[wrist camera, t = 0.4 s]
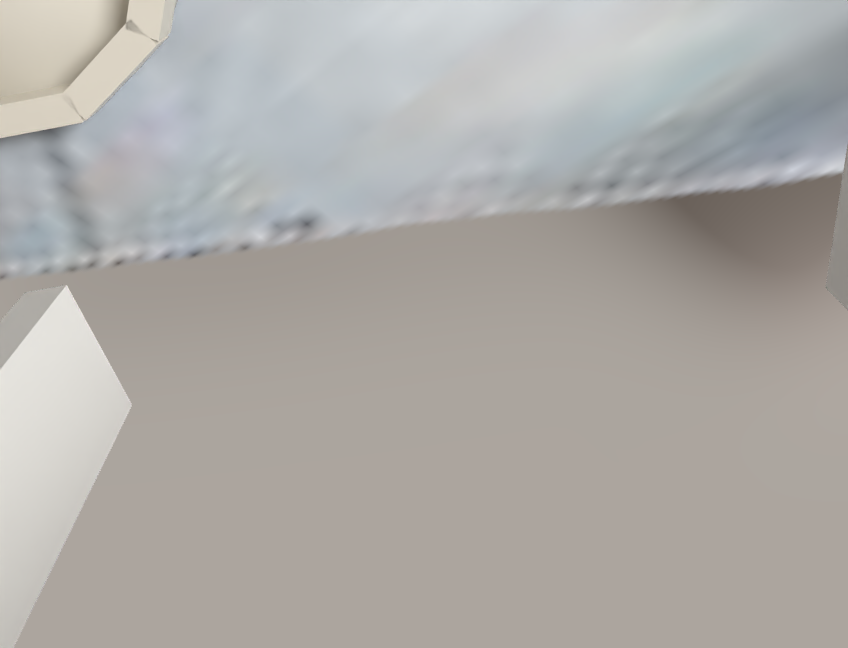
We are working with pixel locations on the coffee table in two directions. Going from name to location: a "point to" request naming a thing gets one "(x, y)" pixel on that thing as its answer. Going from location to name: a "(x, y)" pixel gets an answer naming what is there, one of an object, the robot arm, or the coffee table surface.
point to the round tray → (72, 56)
